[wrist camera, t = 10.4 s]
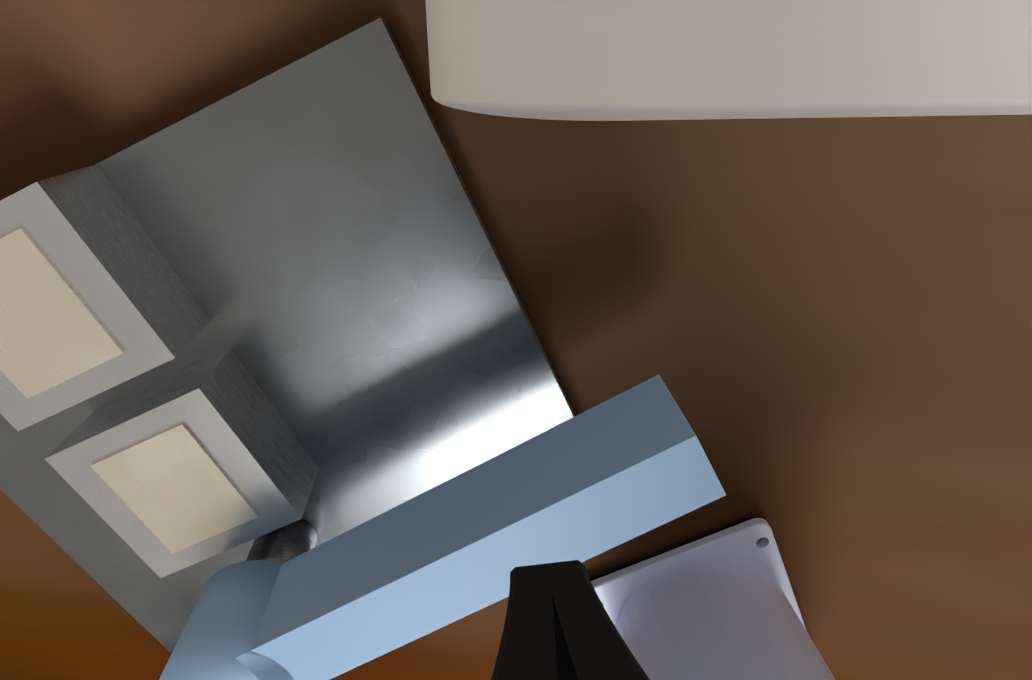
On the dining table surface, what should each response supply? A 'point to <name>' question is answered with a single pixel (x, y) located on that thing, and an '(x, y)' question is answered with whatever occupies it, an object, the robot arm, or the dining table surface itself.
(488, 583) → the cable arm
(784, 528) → the dining table surface
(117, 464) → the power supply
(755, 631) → the robot arm
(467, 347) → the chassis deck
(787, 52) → the cable organizer
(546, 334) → the dining table surface
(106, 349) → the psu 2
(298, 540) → the pivot post
